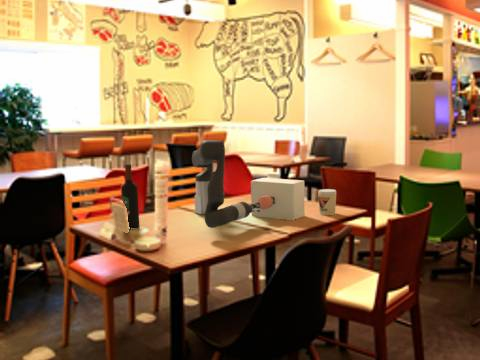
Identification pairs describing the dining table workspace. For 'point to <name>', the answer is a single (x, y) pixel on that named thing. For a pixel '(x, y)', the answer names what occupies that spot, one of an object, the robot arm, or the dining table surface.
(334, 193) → the coffee cup
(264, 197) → the knob
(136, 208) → the wine bottle
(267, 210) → the console
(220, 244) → the dining table surface
